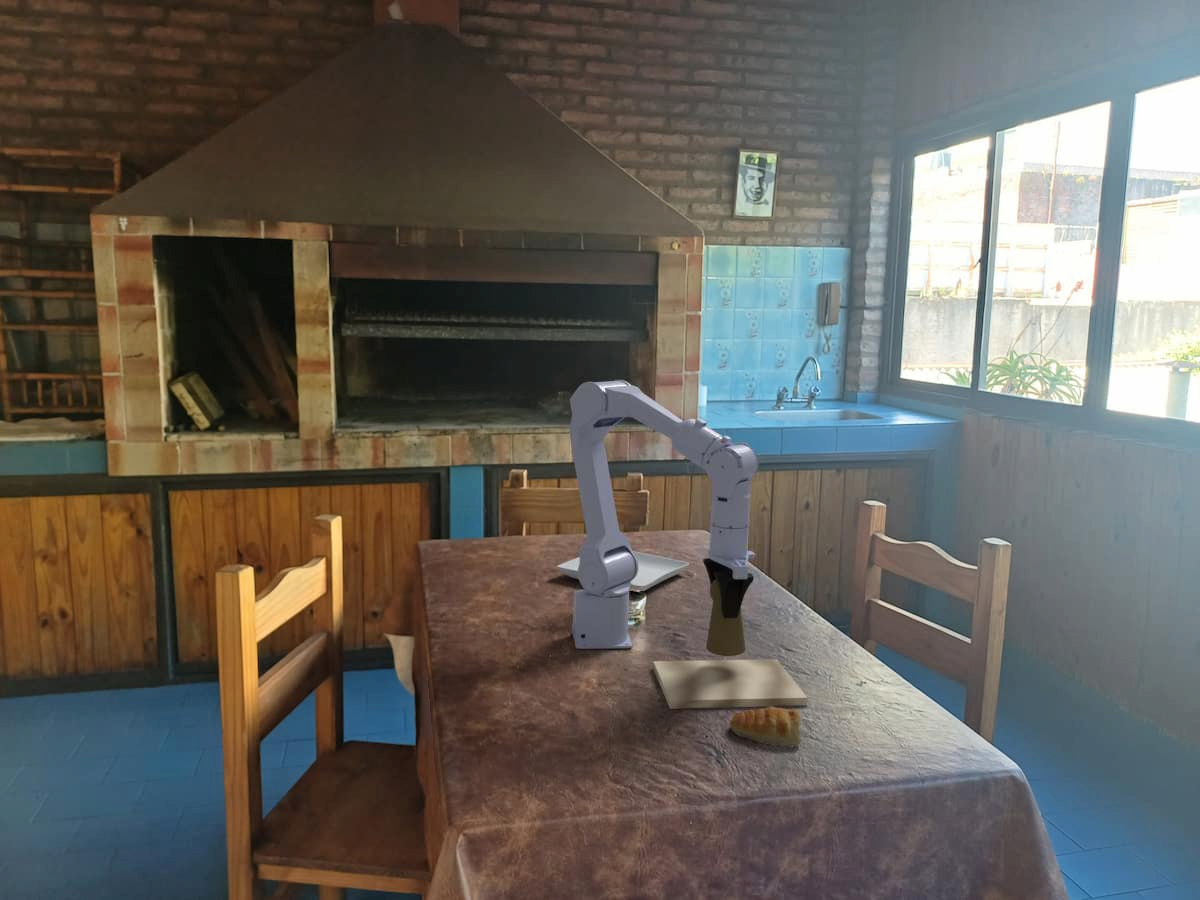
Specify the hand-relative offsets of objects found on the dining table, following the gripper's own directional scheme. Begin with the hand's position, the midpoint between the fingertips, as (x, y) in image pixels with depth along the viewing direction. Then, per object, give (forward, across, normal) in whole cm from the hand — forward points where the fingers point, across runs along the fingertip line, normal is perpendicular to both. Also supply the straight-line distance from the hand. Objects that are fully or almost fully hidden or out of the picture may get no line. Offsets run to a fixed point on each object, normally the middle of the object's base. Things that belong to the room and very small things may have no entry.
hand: (725, 610), depth 131 cm
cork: (+6, 0, 0) cm, 6 cm away
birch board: (+10, -4, 0) cm, 11 cm away
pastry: (+11, -19, -2) cm, 22 cm away
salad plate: (+11, +51, +8) cm, 53 cm away
